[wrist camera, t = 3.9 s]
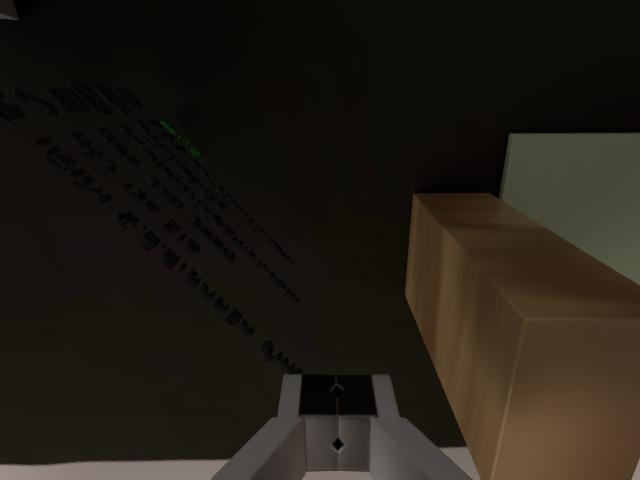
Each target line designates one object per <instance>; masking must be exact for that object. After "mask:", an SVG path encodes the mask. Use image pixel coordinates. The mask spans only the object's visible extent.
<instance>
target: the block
mask: <svg viewBox="0 0 640 480" xmlns="http://www.w3.org/2000/svg"><path fill="white" fill-rule="evenodd" d="M405 296H406V298H407V301H408V303H409V306H410V308H411V311H412V313H413V315H414V318H415V320H416V323H417V325H418V328H419V330H420V332H421V335H422V337H423V340H424V342H425V345H426V347H427V349H428V352H429V354H430V357H431V359H432V362H433V364H434V366H435V369H436V371H437V374H438V376H439V379H440V381H441V383H442V386H443V388H444V391H445V393H446V396H447V398H448V400H449V403H450V405H451V408H452V410H453V413H454V415H455V417H456V420H457V422H458V425H459V427H460V430H461V432H462V434H463V437H464V439H465V442H466V444H467V447H468V449H469V451H470V454H471V456H472V458H473V461H474V464H475V466H476V468H477V471H478V473H479V476H480V478H481V480H631V479H632V476H633V474H634V471H635V469H636V466H637V463H638V461H639V458H640V285H638V284H637V283H635V282H633V281H632V280H630V279H628V278H627V277H625V276H624V275H622V274H620V273H619V272H617V271H615V270H614V269H612V268H611V267H609V266H607V265H606V264H604V263H602V262H601V261H599V260H597V259H596V258H594V257H593V256H591V255H589V254H588V253H586V252H584V251H583V250H581V249H580V248H578V247H576V246H575V245H573V244H571V243H570V242H568V241H566V240H565V239H563V238H562V237H560V236H558V235H557V234H555V233H553V232H552V231H550V230H549V229H547V228H545V227H544V226H542V225H540V224H539V223H537V222H535V221H534V220H532V219H531V218H529V217H527V216H526V215H524V214H522V213H521V212H519V211H518V210H516V209H514V208H513V207H511V206H509V205H508V204H506V203H504V202H503V201H501V200H500V199H498V198H496V197H495V196H493V195H491V194H490V193H415V194H413V201H412V214H411V226H410V238H409V250H408V263H407V275H406V287H405Z"/></svg>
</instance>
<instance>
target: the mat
mask: <svg viewBox="0 0 640 480" xmlns="http://www.w3.org/2000/svg"><path fill="white" fill-rule="evenodd" d="M499 199H500V200H501V201H503V202H504V203H506V204H508V205H509V206H511V207H513V208H514V209H516V210H518V211H519V212H521V213H522V214H524V215H526V216H527V217H529V218H531V219H532V220H534V221H535V222H537V223H539V224H540V225H542V226H544V227H545V228H547V229H549V230H550V231H552V232H553V233H555V234H557V235H558V236H560V237H562V238H563V239H565V240H566V241H568V242H570V243H571V244H573V245H575V246H576V247H578V248H580V249H581V250H583V251H584V252H586V253H588V254H589V255H591V256H593V257H594V258H596V259H597V260H599V261H601V262H602V263H604V264H606V265H607V266H609V267H611V268H612V269H614V270H615V271H617V272H619V273H620V274H622V275H624V276H625V277H627V278H628V279H630V280H632V281H633V282H635V283H637V284H638V285H640V133H510V134H509V139H508V146H507V152H506V158H505V164H504V170H503V176H502V182H501V189H500V195H499Z"/></svg>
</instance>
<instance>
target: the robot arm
mask: <svg viewBox="0 0 640 480" xmlns="http://www.w3.org/2000/svg"><path fill="white" fill-rule="evenodd" d="M307 471H362V472H363V471H364V472H370V474H371V476H372V477H373V479H374V480H473V479H471V478H470V477H469V476H468V475H467V474H466V473H465V472H464V471H463V470H461V468H459V467H458V466H457V465H456V464H455V463H454V462H453V461H452V460H451V459H450V458H449V457H447V456H446V455H445V454H444V453H443V452H442V451H441V450H440V449H439V448H438V447H437V446H435V445H434V444H433V443H432V442H431V441H430V440H429V439H428V438H427V437H426V436H425V435H423V434H422V433H421V432H420V431H419V430H418V429H417V428H416V427H415V426H414V425H413V424H411V423H410V422H409V421H408V420H407V419H406V418H400V416H399V412H398V408H397V403H396V399H395V395H394V391H393V387H392V382H391V378H390V376H389V375H388V374H374V375H313V374H302V375H301V374H285V375H284V377H283V382H282V389H281V396H280V403H279V410H278V416H277V417H272V418H271V419H270V420H269V421H268V422H267V423H266V424H265V425H264V426H263V427H262V428H261V429H260V430H259V431H258V432H257V433H256V434H255V435H254V436H253V437H252V438H251V439H250V440H249V441H248V442H247V443H246V444H245V445H244V446H243V447H242V448H241V449H240V450H239V451H238V452H237V453H236V454H235V455H234V456H233V457H232V458H231V459H230V460H229V461H228V462H227V463H226V464H225V465H224V466H223V467H222V468H221V469H220V470H219V471H218V472H217V473H216V474H215V476H213V477H212V479H211V480H302V478H303V477H304V476H305V474H306V472H307Z"/></svg>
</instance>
